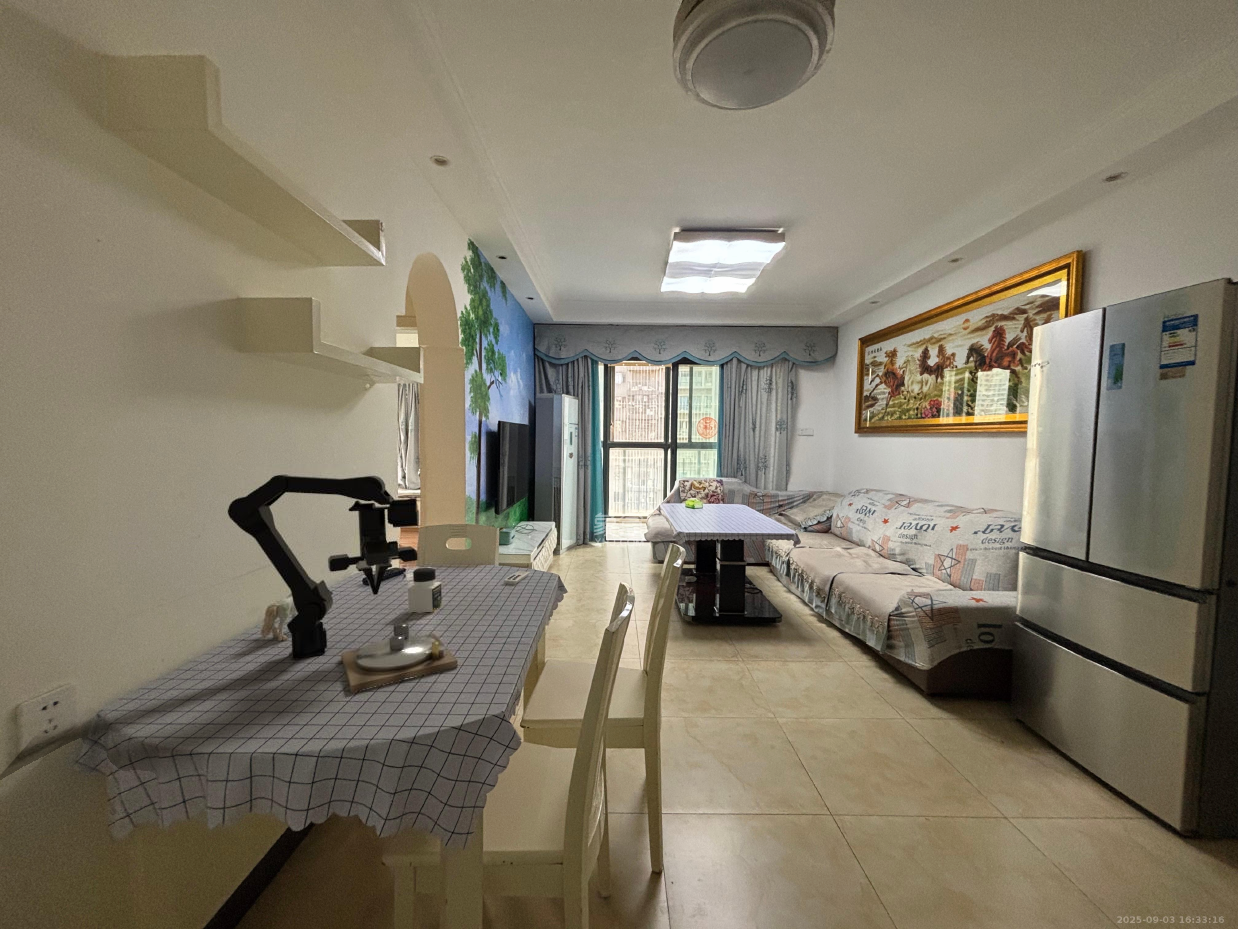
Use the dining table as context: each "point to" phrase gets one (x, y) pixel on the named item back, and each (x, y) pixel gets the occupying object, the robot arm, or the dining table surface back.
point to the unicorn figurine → (278, 610)
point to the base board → (368, 679)
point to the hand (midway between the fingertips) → (375, 594)
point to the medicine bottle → (424, 591)
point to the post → (397, 642)
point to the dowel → (435, 650)
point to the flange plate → (397, 652)
